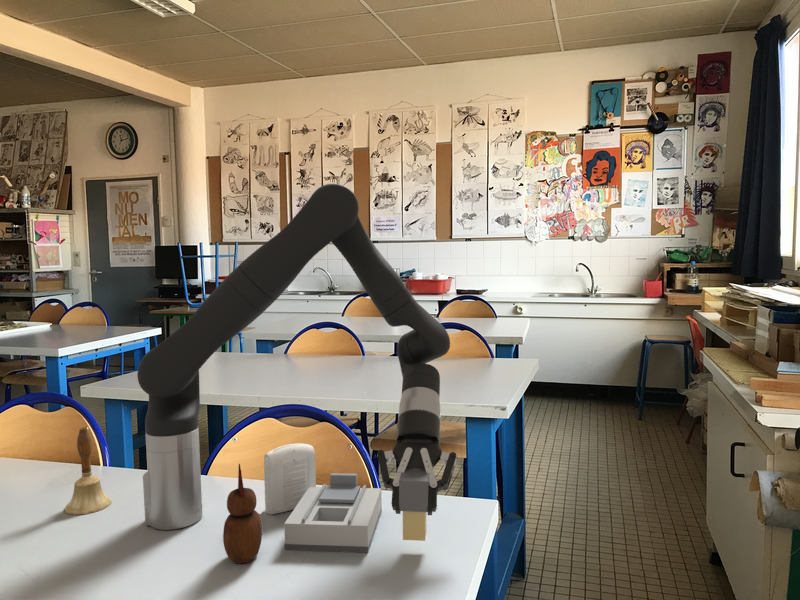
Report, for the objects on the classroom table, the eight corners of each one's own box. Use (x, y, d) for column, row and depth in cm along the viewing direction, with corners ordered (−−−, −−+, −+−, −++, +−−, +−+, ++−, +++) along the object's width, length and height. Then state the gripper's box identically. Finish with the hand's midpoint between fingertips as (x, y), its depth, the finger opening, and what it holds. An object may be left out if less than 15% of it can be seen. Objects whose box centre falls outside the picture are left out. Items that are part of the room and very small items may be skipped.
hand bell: (114, 507, 119) (110, 428, 118) (67, 518, 114) (61, 436, 113) (107, 494, 126) (103, 419, 125) (62, 504, 121) (57, 426, 120)
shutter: (318, 502, 108) (318, 487, 107) (328, 486, 115) (327, 473, 115) (354, 502, 107) (353, 488, 107) (361, 487, 114) (360, 473, 114)
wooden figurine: (232, 547, 101) (229, 460, 100) (266, 547, 101) (263, 460, 100) (219, 568, 95) (215, 475, 94) (255, 568, 94) (252, 474, 93)
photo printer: (310, 497, 122) (308, 437, 121) (319, 504, 118) (318, 442, 118) (262, 509, 116) (259, 447, 116) (270, 517, 113) (267, 453, 112)
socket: (285, 549, 100) (284, 520, 100) (310, 509, 116) (309, 483, 116) (368, 552, 99) (367, 522, 98) (381, 511, 114) (381, 485, 114)
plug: (399, 541, 97) (398, 480, 96) (402, 528, 101) (401, 470, 100) (428, 542, 96) (427, 481, 95) (429, 529, 101) (429, 471, 100)
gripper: (377, 407, 105) (366, 501, 94) (459, 408, 104) (458, 505, 93) (381, 428, 111) (372, 520, 100) (459, 430, 110) (458, 523, 98)
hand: (413, 512), depth 96 cm, fingers closed on plug, 4 cm apart
